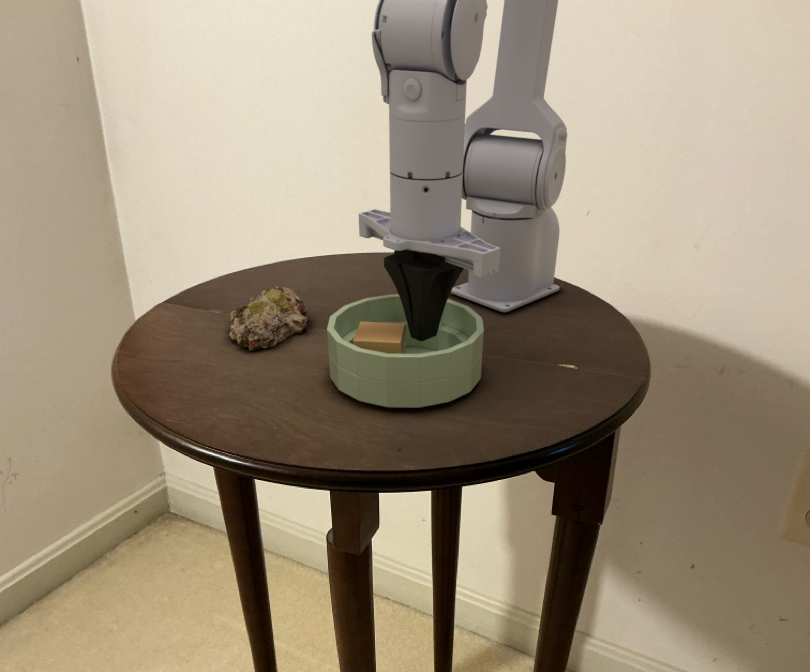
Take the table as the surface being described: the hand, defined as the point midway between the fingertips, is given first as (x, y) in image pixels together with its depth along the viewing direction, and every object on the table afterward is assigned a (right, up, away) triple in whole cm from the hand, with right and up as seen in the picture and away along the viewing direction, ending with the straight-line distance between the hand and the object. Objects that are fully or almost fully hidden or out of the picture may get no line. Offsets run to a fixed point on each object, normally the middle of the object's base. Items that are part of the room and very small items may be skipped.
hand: (423, 336), depth 68 cm
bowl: (-2, -4, 0) cm, 4 cm away
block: (-4, -4, -1) cm, 5 cm away
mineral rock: (-16, +3, +8) cm, 18 cm away
